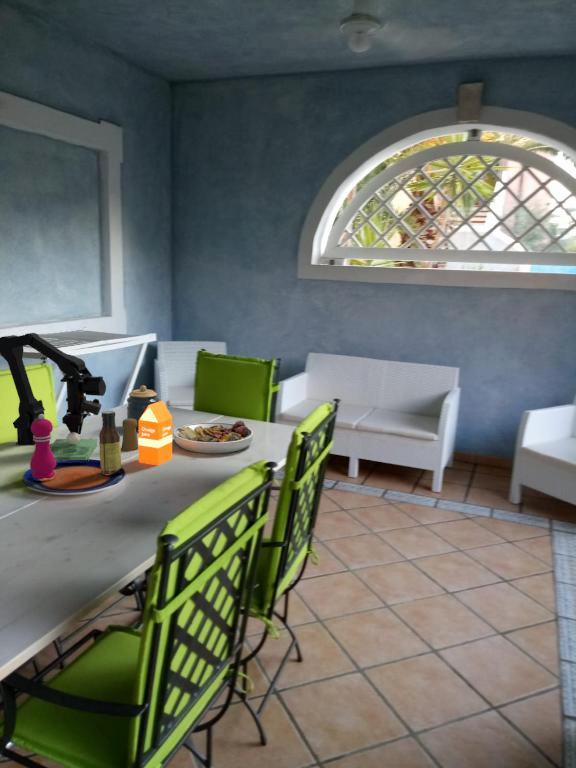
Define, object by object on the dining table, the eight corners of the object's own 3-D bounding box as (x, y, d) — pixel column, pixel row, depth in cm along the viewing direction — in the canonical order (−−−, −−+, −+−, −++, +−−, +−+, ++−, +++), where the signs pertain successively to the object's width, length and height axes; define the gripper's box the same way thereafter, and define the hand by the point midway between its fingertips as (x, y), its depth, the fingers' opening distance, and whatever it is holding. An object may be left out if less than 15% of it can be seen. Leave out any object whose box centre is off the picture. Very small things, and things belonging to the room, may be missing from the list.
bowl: (201, 461, 196) (201, 439, 195) (158, 441, 218) (158, 421, 217) (268, 447, 216) (269, 427, 214) (223, 430, 238) (224, 412, 237)
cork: (133, 451, 203) (133, 421, 201) (118, 450, 204) (117, 420, 202) (141, 447, 209) (141, 417, 207) (126, 445, 210) (126, 416, 208)
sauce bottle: (125, 471, 182) (124, 411, 178) (113, 477, 176) (112, 415, 172) (107, 468, 184) (107, 408, 180) (95, 474, 178) (94, 412, 174)
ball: (65, 447, 198) (64, 436, 196) (68, 439, 202) (67, 429, 200) (78, 447, 199) (78, 437, 197) (81, 439, 203) (81, 429, 200)
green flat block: (56, 445, 206) (56, 439, 205) (97, 445, 208) (97, 439, 208) (41, 464, 185) (41, 456, 185) (86, 464, 188) (86, 456, 187)
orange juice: (138, 462, 192) (138, 404, 188) (153, 455, 200) (153, 399, 196) (158, 465, 189) (158, 406, 186) (172, 458, 197) (172, 401, 194)
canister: (134, 422, 243) (134, 381, 240) (163, 424, 241) (163, 383, 238) (121, 430, 230) (121, 387, 227) (152, 432, 229) (152, 389, 226)
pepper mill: (31, 483, 168) (28, 417, 165) (29, 476, 174) (27, 412, 171) (57, 480, 171) (55, 415, 168) (55, 473, 178) (53, 410, 174)
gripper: (95, 399, 195) (96, 443, 198) (102, 389, 213) (104, 429, 216) (60, 400, 193) (63, 444, 196) (71, 389, 211) (73, 430, 214)
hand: (77, 436), depth 206 cm, fingers open, 6 cm apart
